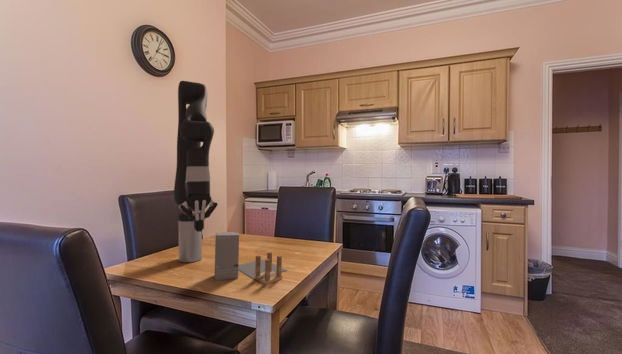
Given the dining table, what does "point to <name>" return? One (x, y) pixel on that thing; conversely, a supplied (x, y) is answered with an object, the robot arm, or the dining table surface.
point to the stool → (268, 270)
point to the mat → (250, 268)
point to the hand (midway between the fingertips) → (198, 231)
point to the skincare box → (226, 255)
